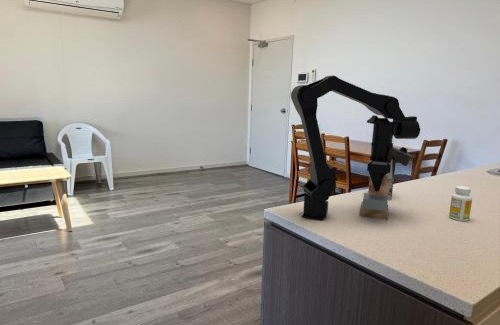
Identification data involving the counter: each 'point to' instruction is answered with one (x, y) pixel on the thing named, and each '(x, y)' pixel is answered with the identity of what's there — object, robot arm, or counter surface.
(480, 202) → the counter surface
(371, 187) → the terracotta cube
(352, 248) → the counter surface
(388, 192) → the coffee box
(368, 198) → the slate top slab
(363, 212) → the walnut base slab
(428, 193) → the counter surface
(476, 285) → the counter surface
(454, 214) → the supplement bottle
